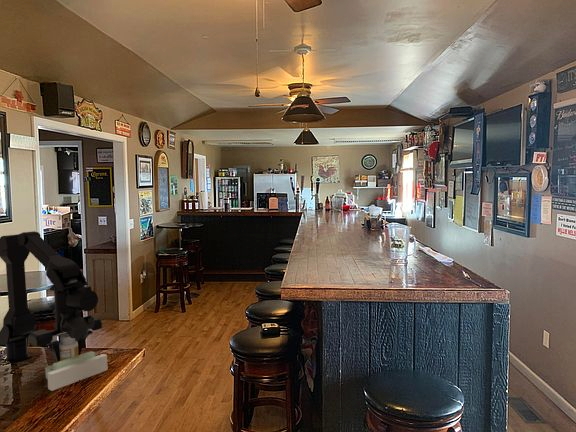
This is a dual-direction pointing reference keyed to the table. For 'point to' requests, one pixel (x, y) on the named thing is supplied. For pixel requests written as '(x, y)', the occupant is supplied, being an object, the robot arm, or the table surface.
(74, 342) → the supplement bottle
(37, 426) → the table surface
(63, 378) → the backstop wall
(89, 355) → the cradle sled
